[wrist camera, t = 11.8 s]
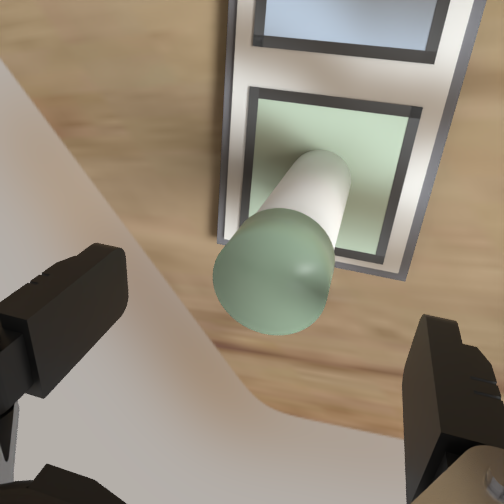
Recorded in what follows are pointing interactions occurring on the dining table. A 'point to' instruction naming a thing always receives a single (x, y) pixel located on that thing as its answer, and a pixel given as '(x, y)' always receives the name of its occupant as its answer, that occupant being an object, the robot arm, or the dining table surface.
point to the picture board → (344, 110)
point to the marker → (286, 249)
